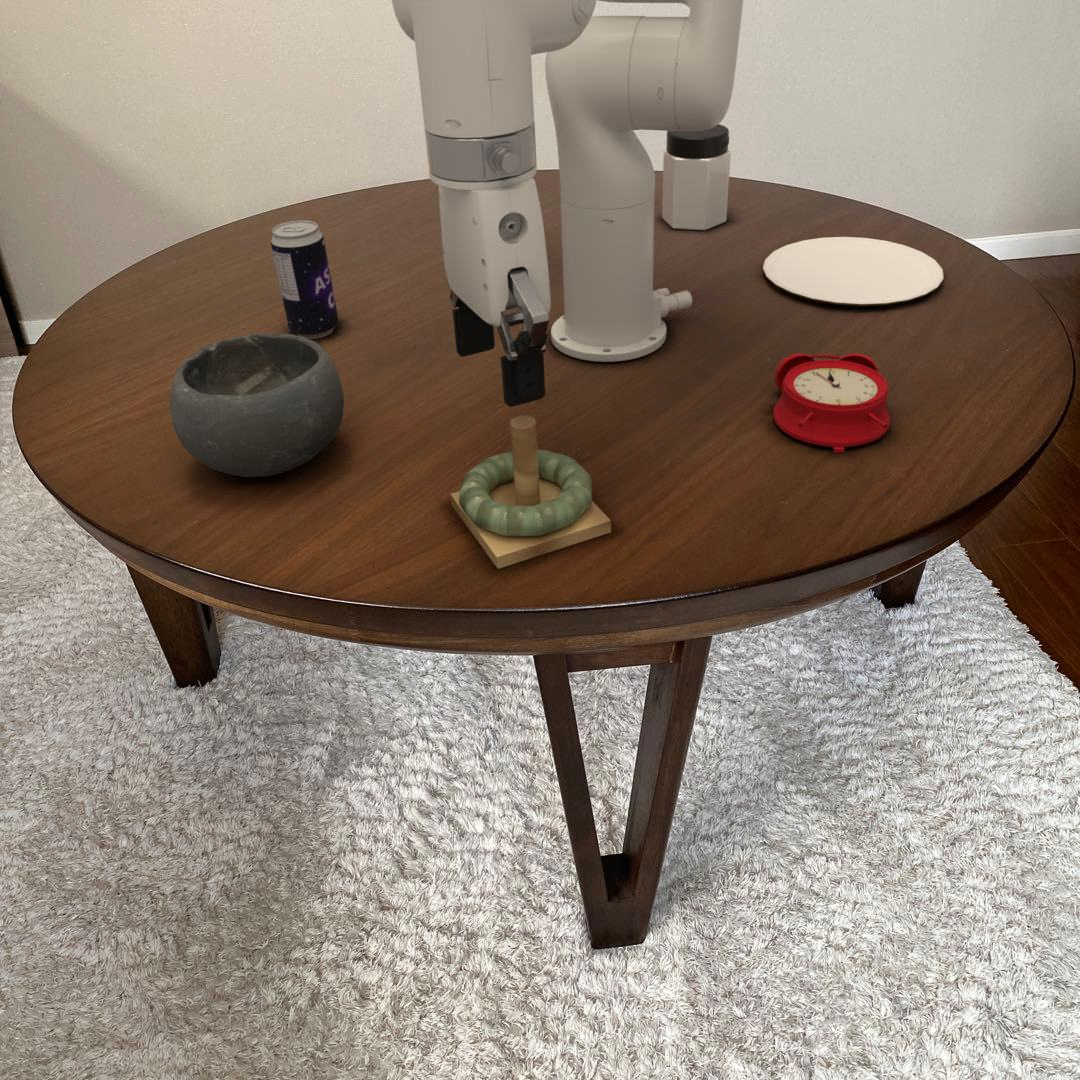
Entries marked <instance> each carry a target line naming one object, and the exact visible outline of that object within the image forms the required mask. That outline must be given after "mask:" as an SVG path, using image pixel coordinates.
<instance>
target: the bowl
mask: <svg viewBox="0 0 1080 1080" xmlns="http://www.w3.org/2000/svg"><path fill="white" fill-rule="evenodd" d="M342 385H343V384H342V380H341V378H340V374H339V372H338V370H337V367H336V365H335V363H334V362H333V359H332V358H331V356H330V355H329V354H328V352H327V351H326V350H325V349H324V348H323V347H322V346H321V345H320V344H319V343H318V342H316V341H314V340H313V339H307V338H305V337H301V336H298V335H297V334H290V333H286V332H285V333H284V332H267V333H266V332H265V333H248V334H247V335H238V336H234V337H229V338H225V339H221V340H217V341H215V342H214V343H211V344H207V345H205V346H203V347H201V348H199V349H198V350H196V351H195V352H194V353H192V354H191V355H190V356H189V357H187V358H186V359H185V360H184V361H183V362H182V363H181V364H180V366H179V367H178V369H177V370H176V371H175V374H174V376H173V378H172V382H171V386H170V394H169V395H170V397H169V409H170V418H171V422H172V426H173V428H174V431H175V434H176V436H177V438H178V440H179V442H180V443H181V445H182V446H183V448H184V449H185V450H186V451H187V453H188V454H190V456H191V457H193V458H194V459H195V460H196V461H198V462H199V463H200V464H202V465H204V466H205V467H207V468H209V469H211V470H213V471H216V472H219V473H223V474H228V475H231V476H236V477H243V478H261V477H268V476H269V477H270V476H274V475H279V474H283V473H286V472H288V471H291V470H293V469H295V468H297V467H299V466H301V465H303V464H306V463H307V462H308V461H310V460H311V459H313V458H314V457H315V456H317V455H318V454H320V452H322V451H323V450H325V448H326V447H327V446H329V444H330V443H331V442H332V440H333V439H334V437H335V436H336V434H337V432H338V431H339V429H340V427H341V424H342V422H343V418H344V417H343V416H344V409H345V397H344V390H343V386H342Z"/></svg>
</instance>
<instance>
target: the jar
mask: <svg viewBox="0 0 1080 1080" xmlns="http://www.w3.org/2000/svg"><path fill="white" fill-rule="evenodd" d="M729 135H730V129H729V128H728V127H727V126H725V125H722V124H720V123H719V124H718V125H717V126H715V127H714V128H711V129H708V130H704V131H666V147H665V148H664V150H663V159H662V161H663V163H662V165H663V166H662V200H661V201H662V203H661V207H662V209H661V211H662V212H661V218H662V219H663V220H664V222H665V223H667V224H668V226H670V227H671V228H672V229H674V230H689V231H708V230H710V229H712V228H715V227H717V226H719V225H721V224H725V223H726V222H727V218H728V204H729V203H728V201H729V188H730V187H729V186H730V172H731V156H732V155H731V154H732V153H731V151H729V144H730V136H729Z"/></svg>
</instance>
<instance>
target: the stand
mask: <svg viewBox="0 0 1080 1080" xmlns="http://www.w3.org/2000/svg"><path fill="white" fill-rule="evenodd" d="M509 426H510V439H511V442H510V443H511V451H512V456H513V469H514V479H513V480H510V481H507V482H504V483H501V484H498V485H497V486H496V487H495V488H494V489H493V490H491V491H490V493H489V495H490V496H491V498H492V499H493V500H495V501H498V502H501V503H504V504H507V505H510V506H534V505H537V504H540V503H543V502H547V501H550V500H553V499H555V498H556V497H557V496H558V495H559V494H560V493H561V492H562V490H563V489H562V488H561V487H560V486H559V484H558V483H555V482H552V481H549V480H546V479H543V478H539V468H538V450H539V449H538V438H537V437H538V435H537V421H536V419H535V418H534V417H533V416H530V415H518V416H515V417H513V418H511V420H510V421H509ZM459 494H460V490H459V491H456V492H452V493H450V495H449V496H450V504H451V506H452V508H453V510H454V511H455V513H456V514H457V515H458V516H459V518H460V519H461V520H462V522H463V523H464V524H465V526H466V527H467V529H468V530H469V531H470V533H471V534H472V535H473V537H474V538H475V539H476V541H477V543H478V544H479V545H480V546H481V548H482V550H483V551H484V552H485V554H486V555H487V556H488V558H489V559H490V560H491V562H492V563H493V564H494V566H495V567H496V569H497V570H499V569H502V568H505V567H508V566H511V565H514V564H518V563H521V562H523V561H527V560H529V559H534V558H536V557H539V556H542V555H545V554H549V553H551V552H555V551H558V550H561V549H565V548H567V547H570V546H573V545H576V544H579V543H583V542H585V541H589V540H592V539H594V538H595V539H596V538H599V537H601V536H604V535H608V534H611V533H612V520H611V519H610V518H609V517H608V516H607V515H606V513H604V511H602V509H601V508H600V507H599V506H598V505H597V504H596V503H595V502H594V501H593V500H592V501H591V504H590V506H589V508H588V509H587V510H586V511H585V512H584V513H583V514H582V515H581V516H580V517H579V518H578V519H576V520H575V521H574V522H573V523H572V524H571V525H570V526H567V527H565V528H562V529H559V530H556V531H553V532H550V533H547V534H544V535H541V536H503V535H500V534H498V533H495V532H492V531H489V530H486V529H484V528H481V527H478V526H477V525H475V524H474V523H473V522H472V520H471V519H470V518H469V517H468V515H467V514H466V513H465V512H464V510H463V509H462V508H461V506H460V504H459Z"/></svg>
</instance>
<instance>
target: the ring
mask: <svg viewBox="0 0 1080 1080" xmlns="http://www.w3.org/2000/svg"><path fill="white" fill-rule="evenodd" d="M537 450H538V468H539V478H543V479H546V480H549V481H552V482H555V483H558V484H559V486H560V487H561V488H562V489H563V490H562V492H561V493H560V494H559V495H558V496H557V497H556V498H555V499H553V500H550V501H547V502H543V503H540V504H537V505H534V506H510V505H507V504H504V503H501V502H498V501H495V500H493V499H492V498H491V496H490V495H489V493H490V491H491V490H493V489H494V488H495V487H496V486H497V485H498V484H501V483H504V482H507V481H510V480H513V479H514V469H513V456H512V450H509V451H506V452H505V451H504V452H502V453H499V454H496V455H491V456H489V457H486V458H484V459H482V460H481V461H480V462H479V463H477V464H476V465H475V466H474V467H472V468H471V469H470V470H469V471H467V472H466V473H465V474H464V476H463V478H462V480H461V485H460V490H459V491H460V494H459V504H460V506H461V508H462V509H463V510H464V512H465V513H466V514H467V515H468V517H469V518H470V519H471V520H472V522H473V523H474V524H475V525H477V526H478V527H481V528H484V529H486V530H489V531H492V532H495V533H498V534H500V535H503V536H541V535H544V534H547V533H550V532H553V531H556V530H559V529H562V528H565V527H567V526H570V525H571V524H572V523H573V522H574V521H575V520H576V519H578V518H579V517H580V516H581V515H582V514H583V513H584V512H585V511H586V510H587V509H588V508H589V506H590V504H591V501H593V495H592V494H593V479H592V477H591V475H590V473H589V472H588V471H587V470H586V469H585V468H583V466H582V465H580V464H579V463H578V462H577V460H576V459H574V458H573V457H570V456H568V455H564V454H561V453H557V452H554V451H551V450H547V449H542V448H541V449H537Z"/></svg>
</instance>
